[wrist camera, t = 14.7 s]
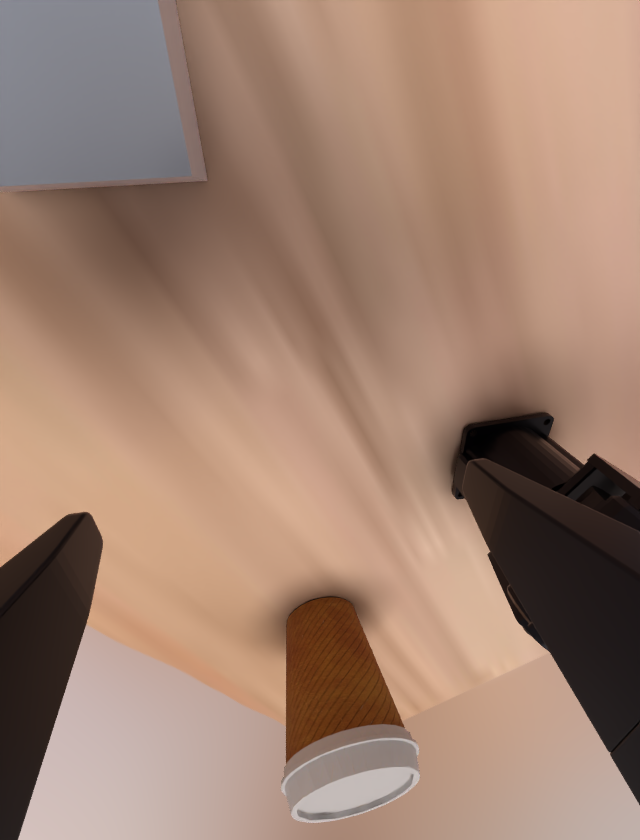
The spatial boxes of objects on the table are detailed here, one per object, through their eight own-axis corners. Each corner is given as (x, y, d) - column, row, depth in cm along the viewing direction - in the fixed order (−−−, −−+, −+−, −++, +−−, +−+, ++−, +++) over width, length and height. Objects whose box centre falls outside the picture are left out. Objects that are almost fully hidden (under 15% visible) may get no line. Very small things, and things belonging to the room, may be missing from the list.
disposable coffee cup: (248, 616, 32) (254, 812, 22) (348, 569, 31) (403, 749, 21) (297, 659, 37) (321, 833, 27) (384, 619, 36) (441, 783, 26)
